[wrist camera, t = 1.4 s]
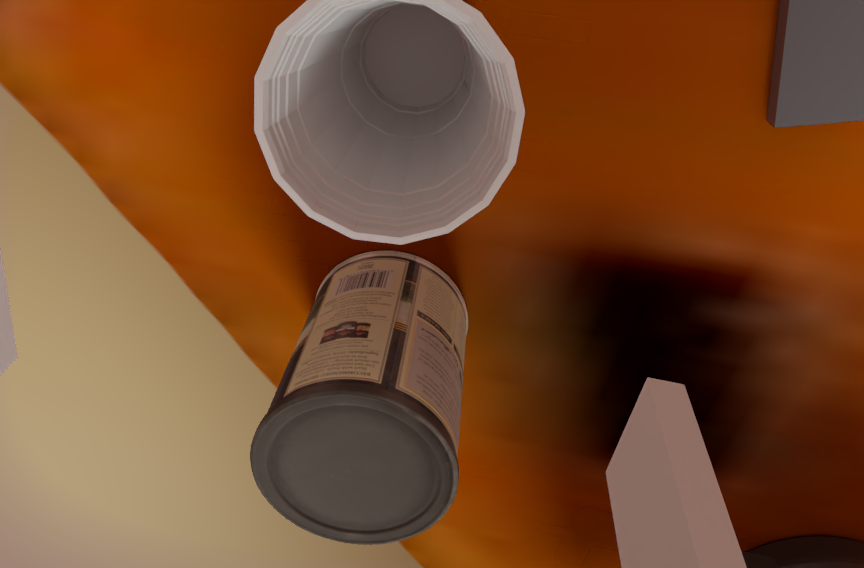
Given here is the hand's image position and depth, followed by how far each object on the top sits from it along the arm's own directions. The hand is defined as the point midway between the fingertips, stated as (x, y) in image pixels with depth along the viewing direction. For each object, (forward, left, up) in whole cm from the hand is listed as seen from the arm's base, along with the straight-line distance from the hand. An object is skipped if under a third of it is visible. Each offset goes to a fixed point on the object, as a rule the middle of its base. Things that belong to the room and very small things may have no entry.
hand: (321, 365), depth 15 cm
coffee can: (-17, 0, -28) cm, 33 cm away
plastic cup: (0, +1, -28) cm, 28 cm away
